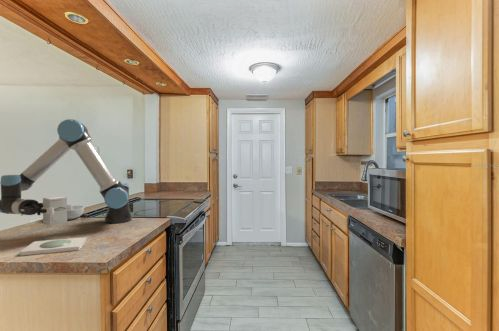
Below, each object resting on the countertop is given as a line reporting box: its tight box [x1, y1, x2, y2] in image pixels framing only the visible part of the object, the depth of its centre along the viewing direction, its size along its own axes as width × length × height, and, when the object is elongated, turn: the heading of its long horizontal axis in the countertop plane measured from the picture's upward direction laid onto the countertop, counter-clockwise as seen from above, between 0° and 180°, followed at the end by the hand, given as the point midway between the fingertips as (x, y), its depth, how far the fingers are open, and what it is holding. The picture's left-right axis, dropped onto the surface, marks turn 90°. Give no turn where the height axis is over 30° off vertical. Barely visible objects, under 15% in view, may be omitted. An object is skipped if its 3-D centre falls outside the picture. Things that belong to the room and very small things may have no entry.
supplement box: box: [42, 196, 68, 227], centre depth 126 cm, size 7×7×13 cm
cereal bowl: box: [67, 205, 85, 221], centre depth 168 cm, size 17×17×7 cm
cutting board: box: [19, 236, 87, 256], centre depth 114 cm, size 20×14×2 cm
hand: (62, 209), depth 125 cm, fingers closed on supplement box, 9 cm apart
